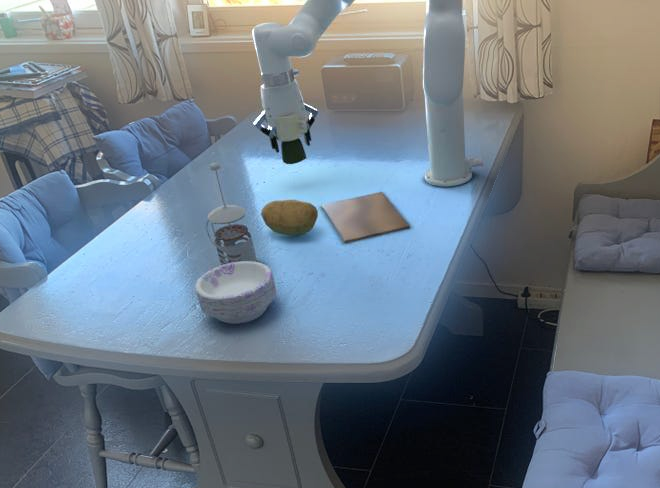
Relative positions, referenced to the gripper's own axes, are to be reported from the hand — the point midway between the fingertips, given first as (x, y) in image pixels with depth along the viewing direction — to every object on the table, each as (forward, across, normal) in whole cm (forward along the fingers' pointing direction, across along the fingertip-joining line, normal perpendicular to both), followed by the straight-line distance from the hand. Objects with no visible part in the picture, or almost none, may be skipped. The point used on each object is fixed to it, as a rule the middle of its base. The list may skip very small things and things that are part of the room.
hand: (292, 147), depth 196 cm
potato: (+11, +8, +26) cm, 29 cm away
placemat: (+12, -10, +26) cm, 30 cm away
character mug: (+4, 0, 0) cm, 4 cm away
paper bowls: (+11, +25, +56) cm, 62 cm away
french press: (+11, +23, +38) cm, 45 cm away
